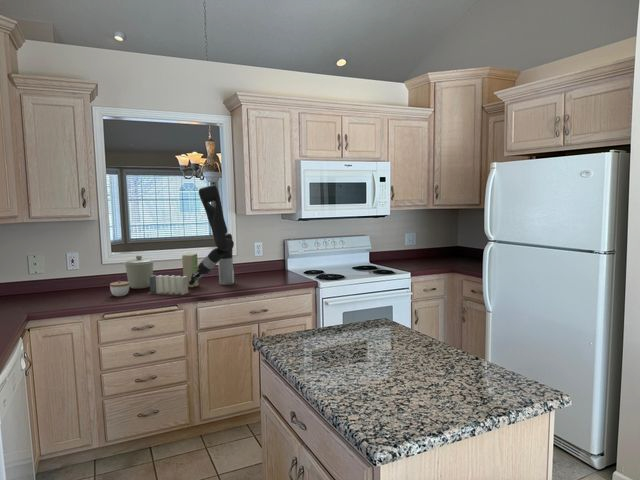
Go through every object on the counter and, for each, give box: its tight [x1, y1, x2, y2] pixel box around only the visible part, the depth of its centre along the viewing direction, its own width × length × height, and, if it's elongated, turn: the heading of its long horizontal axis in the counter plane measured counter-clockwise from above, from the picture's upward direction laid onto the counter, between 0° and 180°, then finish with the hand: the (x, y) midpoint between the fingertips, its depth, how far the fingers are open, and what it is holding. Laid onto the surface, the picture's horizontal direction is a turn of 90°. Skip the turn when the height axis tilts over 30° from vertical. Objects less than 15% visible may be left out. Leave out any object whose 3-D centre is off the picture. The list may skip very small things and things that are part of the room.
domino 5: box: [174, 275, 182, 294], centre depth 270 cm, size 2×5×10 cm, turn 165°
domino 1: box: [149, 274, 158, 293], centre depth 274 cm, size 2×5×10 cm, turn 165°
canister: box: [123, 254, 155, 290], centre depth 290 cm, size 18×18×21 cm
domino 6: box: [180, 275, 189, 295], centre depth 269 cm, size 2×5×10 cm, turn 165°
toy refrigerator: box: [181, 253, 199, 288], centre depth 290 cm, size 8×7×21 cm
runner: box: [147, 291, 190, 296], centre depth 272 cm, size 24×9×1 cm, turn 75°
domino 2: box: [156, 274, 164, 293], centre depth 273 cm, size 2×5×10 cm, turn 165°
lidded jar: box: [109, 279, 130, 297], centre depth 268 cm, size 11×11×9 cm
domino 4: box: [168, 275, 176, 294], centre depth 271 cm, size 2×5×10 cm, turn 165°
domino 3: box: [162, 274, 170, 293], centre depth 272 cm, size 2×5×10 cm, turn 165°
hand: (190, 283), depth 267 cm, fingers closed
